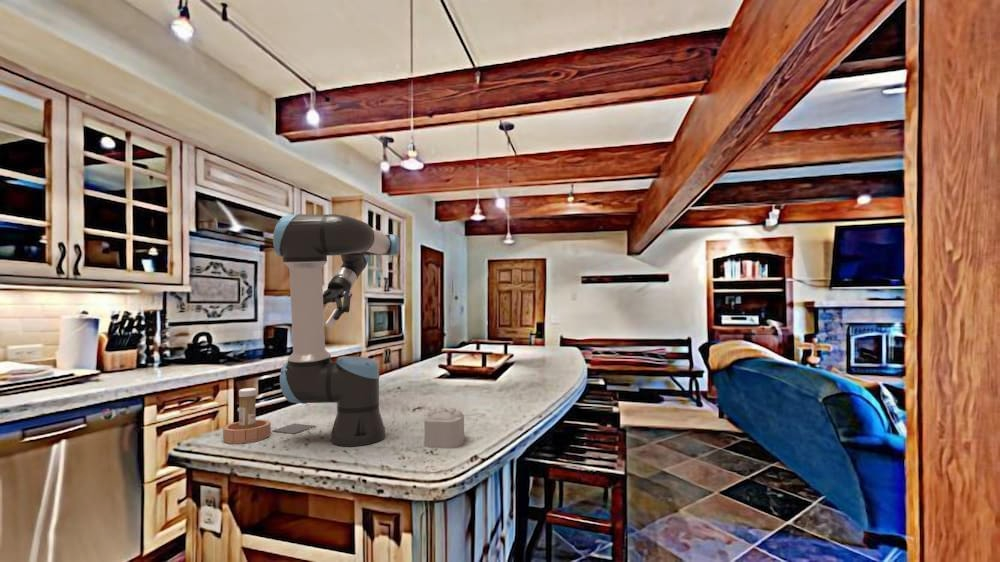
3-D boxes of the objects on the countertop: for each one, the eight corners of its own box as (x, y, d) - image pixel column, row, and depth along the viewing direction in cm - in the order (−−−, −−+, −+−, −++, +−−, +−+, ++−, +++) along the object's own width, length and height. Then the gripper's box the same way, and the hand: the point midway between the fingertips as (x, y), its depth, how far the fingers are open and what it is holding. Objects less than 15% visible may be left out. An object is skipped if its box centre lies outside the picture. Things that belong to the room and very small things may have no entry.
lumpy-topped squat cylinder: (420, 447, 128) (420, 415, 128) (434, 434, 141) (433, 404, 141) (458, 448, 126) (458, 416, 127) (468, 435, 139) (468, 405, 140)
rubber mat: (316, 426, 151) (316, 425, 151) (294, 434, 142) (294, 433, 142) (294, 424, 154) (294, 423, 154) (271, 431, 145) (271, 430, 145)
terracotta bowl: (278, 434, 142) (279, 421, 143) (244, 445, 131) (244, 432, 131) (249, 430, 147) (249, 418, 147) (213, 441, 136) (213, 428, 136)
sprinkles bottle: (256, 435, 138) (257, 389, 139) (238, 438, 136) (239, 391, 137) (254, 432, 142) (255, 387, 143) (237, 434, 140) (238, 388, 140)
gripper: (375, 289, 171) (347, 333, 157) (320, 290, 180) (289, 332, 166) (365, 274, 167) (336, 318, 152) (310, 276, 176) (277, 318, 161)
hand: (312, 326), depth 159 cm, fingers open, 13 cm apart
